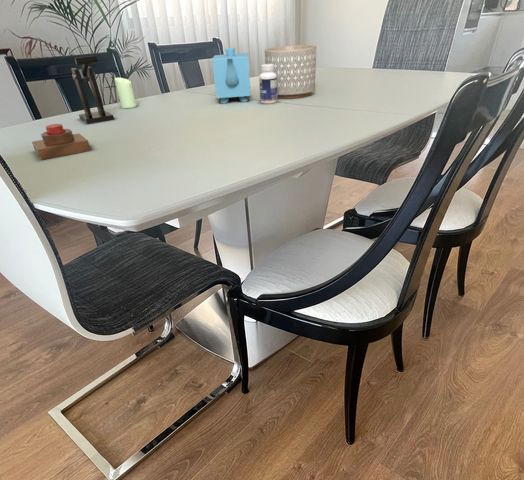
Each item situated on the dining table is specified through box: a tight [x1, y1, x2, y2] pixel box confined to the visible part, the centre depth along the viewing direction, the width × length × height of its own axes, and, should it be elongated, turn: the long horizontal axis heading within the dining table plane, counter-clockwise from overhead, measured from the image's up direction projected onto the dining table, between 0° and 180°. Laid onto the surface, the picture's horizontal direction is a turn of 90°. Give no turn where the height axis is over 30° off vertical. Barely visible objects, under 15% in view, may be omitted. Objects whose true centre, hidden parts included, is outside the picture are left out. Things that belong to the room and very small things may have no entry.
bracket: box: [70, 66, 115, 125], centre depth 113 cm, size 10×8×13 cm
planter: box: [264, 44, 317, 100], centre depth 126 cm, size 16×16×13 cm
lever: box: [74, 55, 99, 83], centre depth 106 cm, size 12×6×2 cm, turn 32°
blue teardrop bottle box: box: [211, 47, 252, 104], centre depth 124 cm, size 22×11×14 cm, turn 2°
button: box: [45, 123, 65, 135], centre depth 88 cm, size 4×4×2 cm
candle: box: [114, 77, 137, 109], centre depth 128 cm, size 5×5×8 cm
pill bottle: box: [258, 63, 278, 105], centre depth 120 cm, size 5×5×10 cm
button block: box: [31, 128, 92, 161], centre depth 90 cm, size 11×9×4 cm
